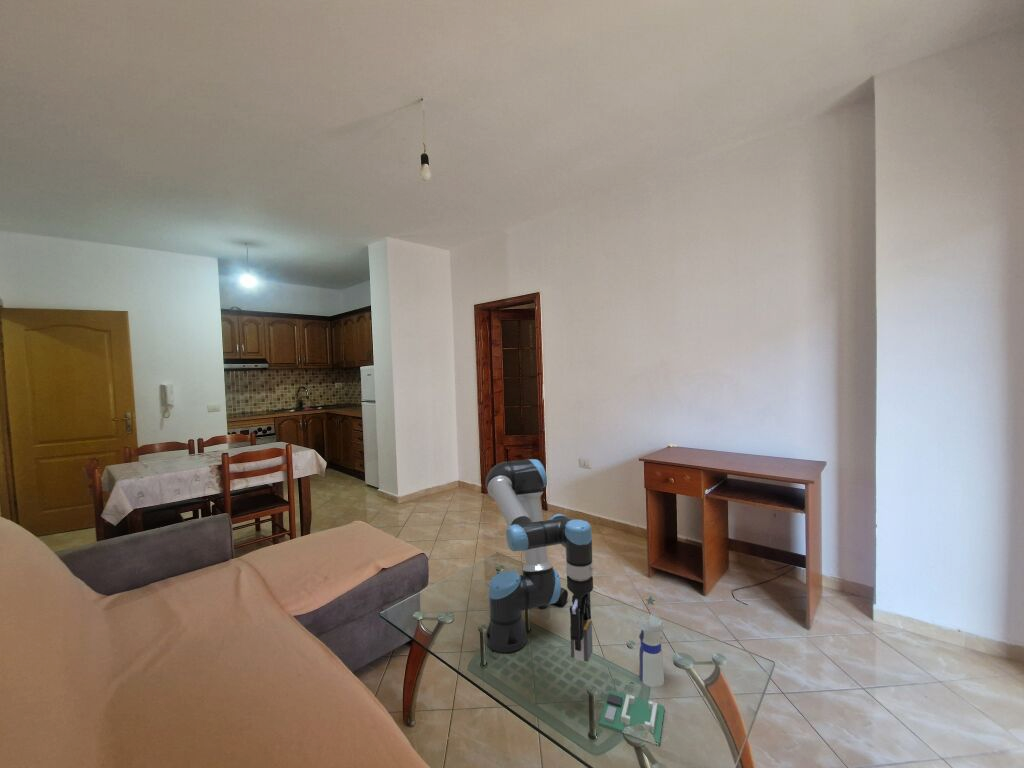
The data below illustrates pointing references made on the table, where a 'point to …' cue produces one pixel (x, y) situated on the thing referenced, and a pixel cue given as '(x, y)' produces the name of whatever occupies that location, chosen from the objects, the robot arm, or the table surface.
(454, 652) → the table surface
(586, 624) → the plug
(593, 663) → the table surface
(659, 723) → the board
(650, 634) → the water bottle
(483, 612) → the table surface
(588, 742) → the table surface
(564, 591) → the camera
